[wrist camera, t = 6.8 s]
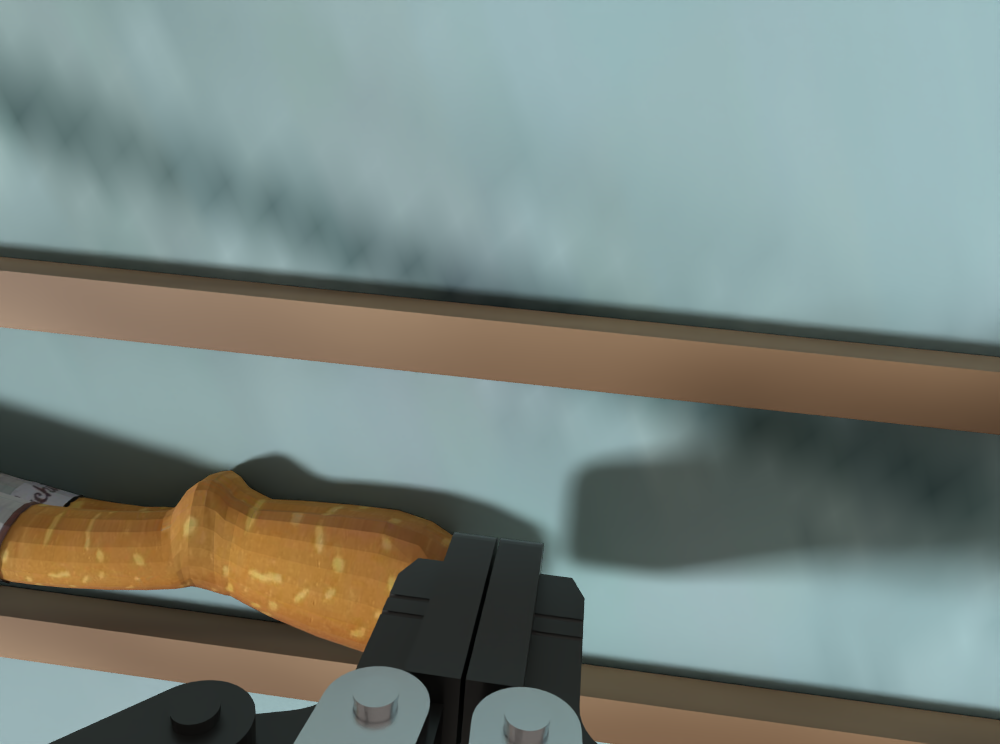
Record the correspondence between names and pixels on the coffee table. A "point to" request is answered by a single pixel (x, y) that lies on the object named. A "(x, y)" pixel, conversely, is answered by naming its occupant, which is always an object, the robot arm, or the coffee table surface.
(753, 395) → the holder
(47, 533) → the chisel
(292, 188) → the coffee table surface
